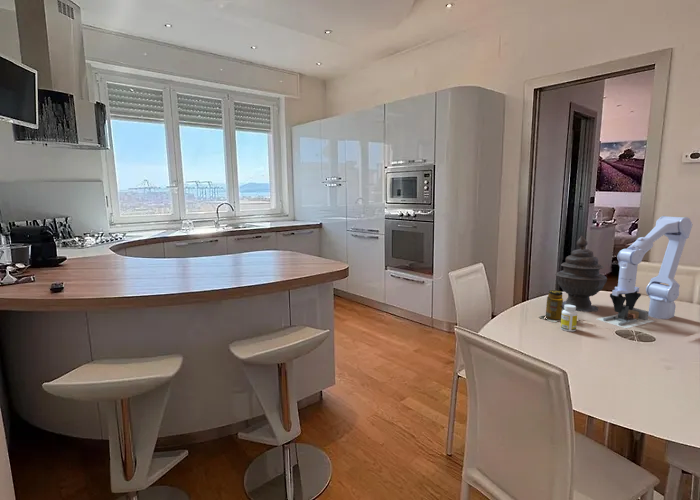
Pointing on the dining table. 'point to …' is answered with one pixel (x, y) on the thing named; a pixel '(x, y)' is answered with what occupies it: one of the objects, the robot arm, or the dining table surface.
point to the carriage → (625, 314)
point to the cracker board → (631, 323)
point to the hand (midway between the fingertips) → (623, 310)
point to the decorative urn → (581, 278)
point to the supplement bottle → (569, 318)
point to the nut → (634, 313)
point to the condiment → (554, 306)
